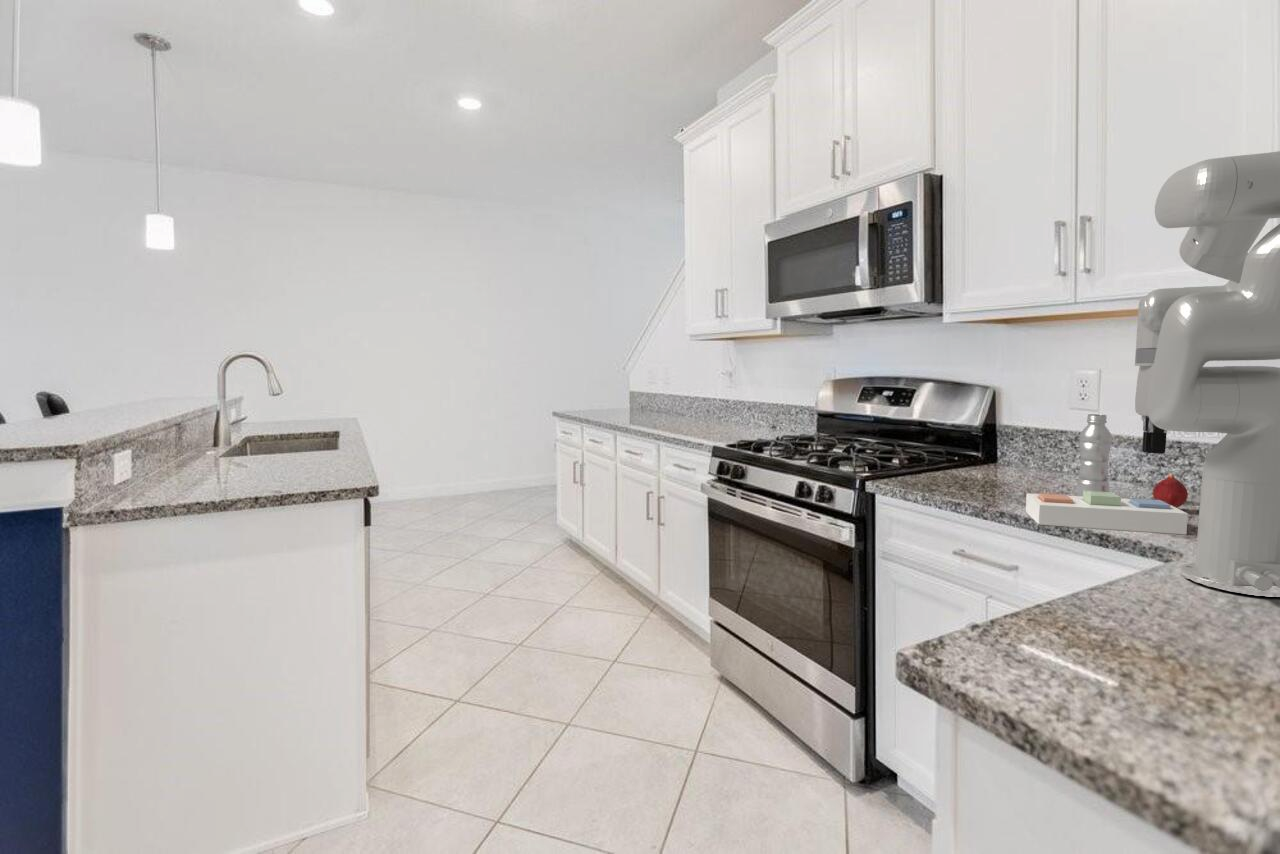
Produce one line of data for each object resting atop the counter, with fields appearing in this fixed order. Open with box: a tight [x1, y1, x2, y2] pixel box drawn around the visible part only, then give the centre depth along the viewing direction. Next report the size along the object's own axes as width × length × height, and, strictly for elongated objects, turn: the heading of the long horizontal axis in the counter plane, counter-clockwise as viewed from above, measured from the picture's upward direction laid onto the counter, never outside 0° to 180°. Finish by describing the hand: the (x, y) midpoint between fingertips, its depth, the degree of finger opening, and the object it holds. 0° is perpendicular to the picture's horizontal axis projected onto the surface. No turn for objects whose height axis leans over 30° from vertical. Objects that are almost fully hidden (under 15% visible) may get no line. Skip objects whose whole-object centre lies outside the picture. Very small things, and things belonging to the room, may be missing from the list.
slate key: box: [1129, 498, 1170, 509], centre depth 127 cm, size 5×5×3 cm
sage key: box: [1083, 491, 1122, 506], centre depth 129 cm, size 5×5×3 cm
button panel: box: [1025, 492, 1189, 535], centre depth 130 cm, size 12×24×4 cm, turn 70°
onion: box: [1152, 473, 1189, 509], centre depth 139 cm, size 6×6×8 cm
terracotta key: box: [1037, 493, 1073, 504], centre depth 132 cm, size 5×5×3 cm
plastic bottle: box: [1075, 413, 1113, 496], centre depth 150 cm, size 6×7×20 cm
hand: (1153, 452), depth 125 cm, fingers closed
